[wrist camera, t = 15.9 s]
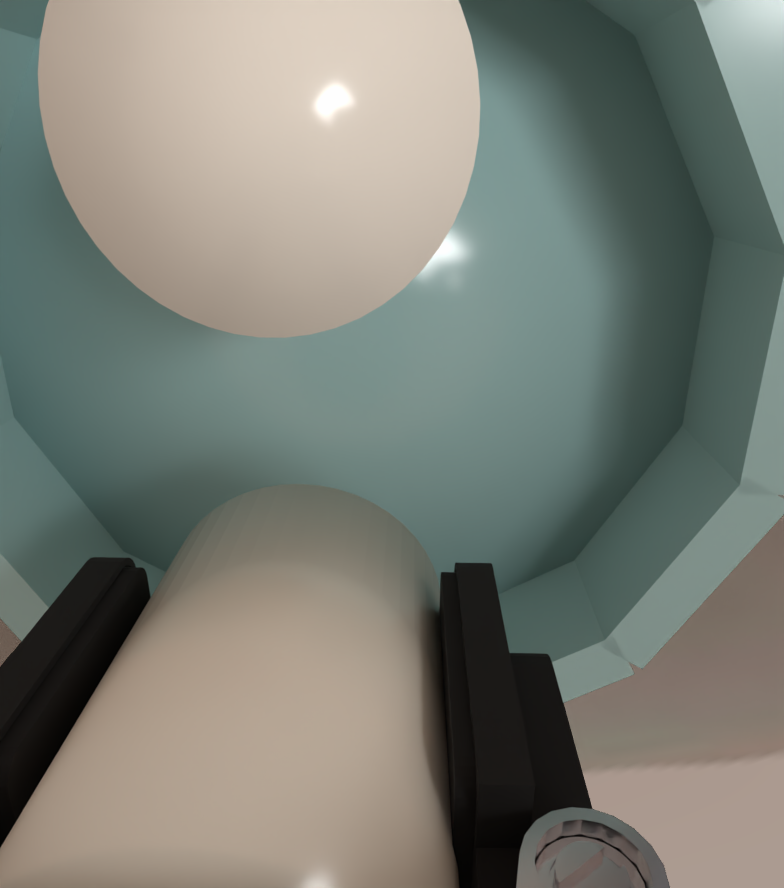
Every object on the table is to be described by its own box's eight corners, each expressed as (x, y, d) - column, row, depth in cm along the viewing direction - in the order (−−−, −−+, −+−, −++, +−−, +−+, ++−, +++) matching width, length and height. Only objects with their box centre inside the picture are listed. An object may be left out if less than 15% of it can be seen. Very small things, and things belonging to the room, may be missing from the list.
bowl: (811, -152, 12) (993, -294, 8) (667, 634, 18) (732, 760, 14) (-122, -138, 12) (-357, -266, 9) (49, 620, 18) (-45, 737, 15)
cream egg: (449, -14, 12) (475, -180, 6) (458, 258, 13) (484, 325, 8) (189, 9, 12) (-16, -130, 6) (229, 272, 13) (94, 348, 8)
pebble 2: (444, 485, 10) (480, 857, 5) (438, 714, 12) (458, 1185, 7) (154, 482, 11) (-134, 839, 5) (186, 709, 12) (-3, 1167, 7)
